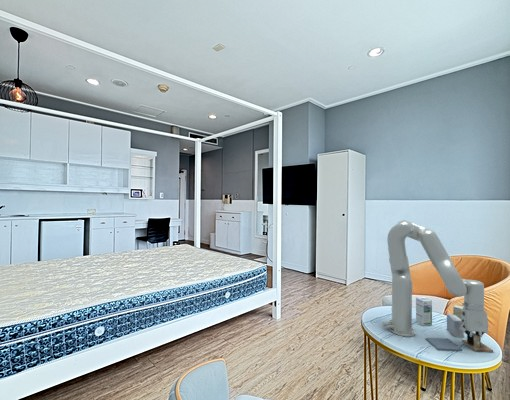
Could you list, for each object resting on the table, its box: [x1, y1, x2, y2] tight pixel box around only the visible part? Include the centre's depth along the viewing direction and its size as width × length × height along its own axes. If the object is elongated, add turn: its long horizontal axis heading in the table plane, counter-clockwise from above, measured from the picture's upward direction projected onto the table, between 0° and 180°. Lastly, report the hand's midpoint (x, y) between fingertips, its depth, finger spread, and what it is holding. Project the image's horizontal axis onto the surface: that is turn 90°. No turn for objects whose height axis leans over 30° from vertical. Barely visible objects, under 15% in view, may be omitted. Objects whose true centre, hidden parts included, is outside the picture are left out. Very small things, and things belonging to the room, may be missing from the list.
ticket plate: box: [425, 337, 463, 353], centre depth 128 cm, size 11×10×1 cm
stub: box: [461, 332, 494, 353], centre depth 127 cm, size 8×9×6 cm
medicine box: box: [446, 314, 465, 338], centre depth 140 cm, size 8×4×9 cm, turn 168°
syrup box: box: [415, 296, 433, 327], centre depth 152 cm, size 6×6×14 cm
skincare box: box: [452, 304, 466, 330], centre depth 146 cm, size 6×4×12 cm
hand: (473, 343), depth 127 cm, fingers closed on stub, 2 cm apart
